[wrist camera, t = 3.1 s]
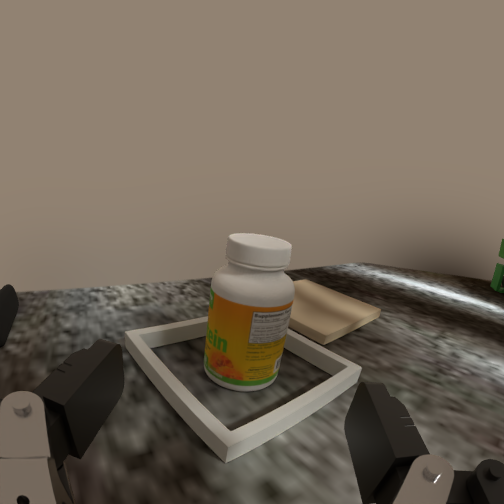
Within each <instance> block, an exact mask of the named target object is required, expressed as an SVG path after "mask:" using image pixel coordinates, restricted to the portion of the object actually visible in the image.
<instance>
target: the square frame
mask: <svg viewBox="0 0 504 504" xmlns="http://www.w3.org/2000/svg"><path fill="white" fill-rule="evenodd" d="M207 323H208V316H207V317H202V318H197V319H192V320H186V321H181V322H176V323H171V324H165V325H160V326H154V327H148V328H143V329H137V330H131V331H125V347H126V349H127V350H128V351H129V353H130V354H131V355H132V357H133V358H134V360H135V361H136V362H137V364H138V365H139V366H140V368H141V369H142V370H143V371H144V373H145V374H146V375H147V377H148V378H149V379H150V380H151V382H152V383H153V384H154V385H155V387H156V388H157V389H158V390H159V392H160V393H161V394H162V395H163V396H164V398H165V399H166V400H167V401H168V402H169V404H170V405H171V406H172V407H173V408H174V409H175V411H176V412H177V413H178V414H179V415H180V416H181V417H182V419H183V420H184V421H185V422H186V423H187V424H188V425H189V426H190V427H191V428H192V430H193V431H194V432H195V433H196V434H197V435H198V436H199V437H200V438H201V439H202V440H203V441H204V442H205V443H206V444H207V445H208V446H209V447H210V448H211V449H212V450H213V451H214V452H215V453H216V454H217V455H218V456H219V457H220V458H221V459H222V460H223V461H224V462H225V463H227V462H229V461H231V460H233V459H235V458H237V457H239V456H241V455H243V454H245V453H247V452H249V451H251V450H252V449H254V448H256V447H258V446H260V445H262V444H263V443H265V442H267V441H269V440H270V439H272V438H274V437H276V436H277V435H279V434H281V433H282V432H284V431H286V430H287V429H289V428H291V427H292V426H294V425H295V424H297V423H299V422H300V421H302V420H303V419H305V418H306V417H308V416H310V415H311V414H313V413H314V412H316V411H317V410H319V409H320V408H322V407H323V406H325V405H326V404H327V403H329V402H330V401H332V400H333V399H335V398H336V397H337V396H339V395H340V394H342V393H343V392H344V391H346V390H347V389H348V388H350V387H351V386H353V385H354V384H355V383H357V381H358V378H359V375H360V372H361V369H362V367H361V366H359V365H357V364H355V363H353V362H351V361H349V360H347V359H345V358H343V357H341V356H339V355H337V354H335V353H333V352H331V351H329V350H327V349H326V348H324V347H322V346H320V345H318V344H316V343H314V342H312V341H310V340H309V339H307V338H305V337H303V336H301V335H299V334H297V333H296V332H294V331H292V330H290V329H288V330H287V334H286V339H285V344H284V348H286V349H287V350H289V351H291V352H292V353H294V354H296V355H297V356H299V357H301V358H303V359H304V360H306V361H308V362H309V363H311V364H313V365H315V366H316V367H318V368H320V369H322V370H323V371H325V372H327V373H329V374H331V375H332V376H333V377H331V378H329V379H328V380H326V381H325V382H323V383H321V384H320V385H318V386H316V387H315V388H313V389H311V390H309V391H308V392H306V393H304V394H303V395H301V396H299V397H297V398H296V399H294V400H292V401H290V402H288V403H286V404H285V405H283V406H281V407H279V408H277V409H275V410H273V411H271V412H270V413H268V414H266V415H264V416H262V417H260V418H258V419H256V420H254V421H252V422H250V423H248V424H246V425H244V426H241V427H239V428H237V429H235V430H233V431H230V430H228V429H227V428H226V427H225V426H224V425H223V424H222V423H221V422H220V421H219V420H218V419H217V418H216V417H215V416H213V415H212V414H211V413H210V412H209V411H208V410H207V409H206V408H205V407H204V406H203V405H202V404H201V403H200V402H199V401H198V400H197V399H196V398H195V397H194V396H193V395H192V394H191V393H190V392H189V391H188V390H187V389H186V388H185V387H184V385H183V384H182V383H181V382H180V381H179V380H178V379H177V378H176V377H175V376H174V375H173V374H172V373H171V372H170V370H169V369H168V368H167V367H166V366H165V365H164V364H163V363H162V362H161V361H160V359H159V358H158V357H157V356H156V355H155V354H154V353H153V351H152V350H151V349H150V348H154V347H159V346H163V345H168V344H172V343H177V342H181V341H186V340H190V339H194V338H199V337H203V336H206V333H207Z"/></svg>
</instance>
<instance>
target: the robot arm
mask: <svg viewBox="0 0 504 504" xmlns="http://www.w3.org/2000/svg"><path fill="white" fill-rule="evenodd" d="M123 389H124V370H123V356H122V347H121V345H120V344H117V343H113V342H109V341H106V340H102V339H99V340H97V341H96V342H95V343H94V344H93V345H92V346H91V347H90V348H89V349H88V350H87V349H82V350H80V351H77V352H75V353H73V354H71V355H70V356H69V357H68V358H67V359H66V360H65V361H64V362H63V364H61V365H60V366H59V367H58V368H57V370H54V371H53V372H52V373H51V374H50V375H49V376H48V377H47V378H46V379H45V380H44V381H43V382H42V383H41V384H40V385H39V386H38V387H37V388H36V389H35V390H34V391H33V392H27V391H17V392H13V393H11V394H9V395H7V396H6V397H5V398H4V399H0V504H76V501H75V498H74V495H73V491H72V488H71V484H70V480H69V476H68V472H67V468H66V464H65V462H64V460H65V459H66V457H67V456H68V454H69V455H71V456H74V457H76V458H78V459H81V458H82V456H83V455H84V453H85V452H86V450H87V448H88V447H89V445H90V444H91V442H92V441H93V439H94V437H95V436H96V434H97V433H98V431H99V430H100V428H101V426H102V425H103V423H104V422H105V420H106V419H107V417H108V416H109V414H110V413H111V411H112V409H113V408H114V406H115V405H116V403H117V402H118V400H119V399H120V397H121V395H122V392H123ZM344 429H345V435H346V439H347V442H348V446H349V450H350V454H351V458H352V462H353V466H354V470H355V474H356V478H357V482H358V486H359V490H360V495H361V499H362V503H363V504H372V503H376V504H504V464H503V463H501V462H499V461H497V460H493V459H488V460H484V461H482V462H481V463H480V464H479V465H478V466H477V467H476V469H475V470H474V471H456V470H453V468H452V466H451V465H450V463H449V462H448V461H446V460H445V459H443V458H442V457H439V456H436V455H430V453H429V451H428V449H427V447H426V446H425V444H424V442H423V440H422V438H421V436H420V434H419V432H418V430H417V428H416V426H414V422H413V421H412V419H411V418H410V415H409V413H408V411H407V409H406V407H405V406H404V405H403V404H402V403H401V402H400V401H399V400H398V399H396V398H395V397H390V395H389V393H388V391H387V389H386V387H385V385H384V384H383V383H374V382H361V383H360V384H359V386H358V388H357V390H356V393H355V396H354V398H353V401H352V403H351V406H350V408H349V410H348V413H347V415H346V419H345V426H344Z"/></svg>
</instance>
